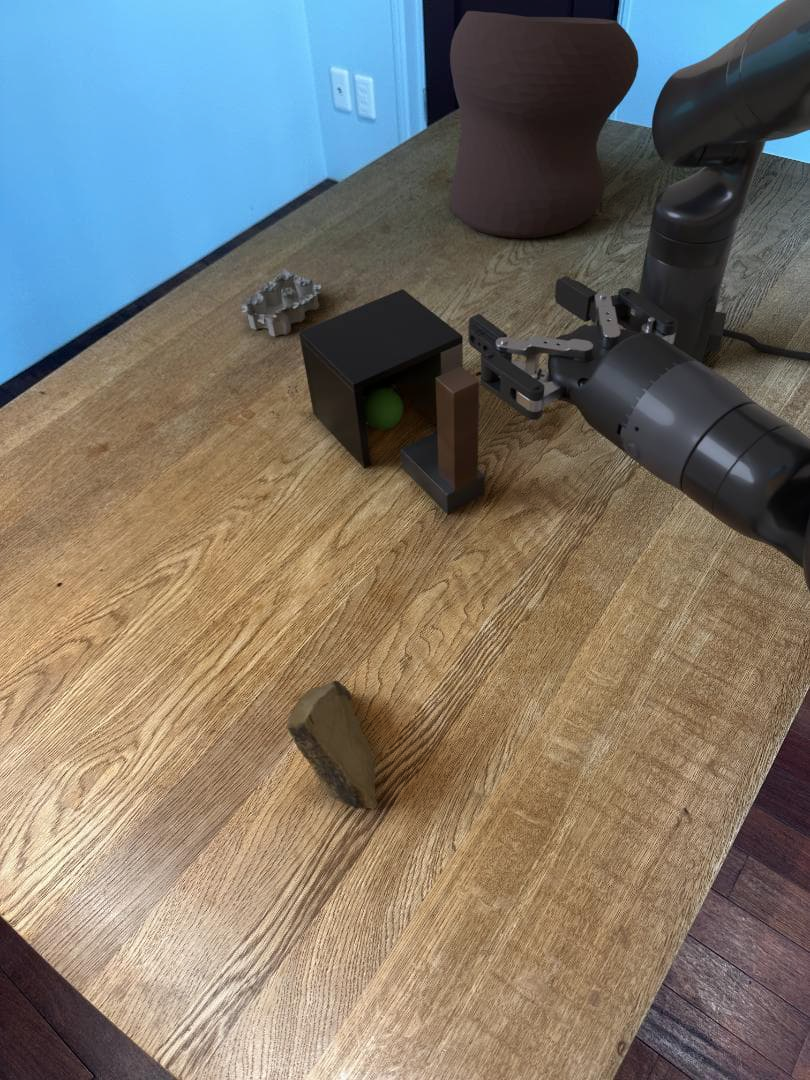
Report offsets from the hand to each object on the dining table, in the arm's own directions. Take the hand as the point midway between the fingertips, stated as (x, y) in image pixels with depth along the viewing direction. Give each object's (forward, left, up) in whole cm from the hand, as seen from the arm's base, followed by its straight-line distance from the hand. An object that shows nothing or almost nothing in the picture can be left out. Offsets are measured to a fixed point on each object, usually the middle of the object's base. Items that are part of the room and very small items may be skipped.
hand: (516, 306), depth 63 cm
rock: (+7, +27, -28) cm, 39 cm away
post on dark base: (+9, -7, -28) cm, 30 cm away
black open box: (+19, -15, -28) cm, 37 cm away
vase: (+15, -72, -28) cm, 79 cm away
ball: (+19, -14, -25) cm, 35 cm away
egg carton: (+41, -32, -28) cm, 59 cm away
